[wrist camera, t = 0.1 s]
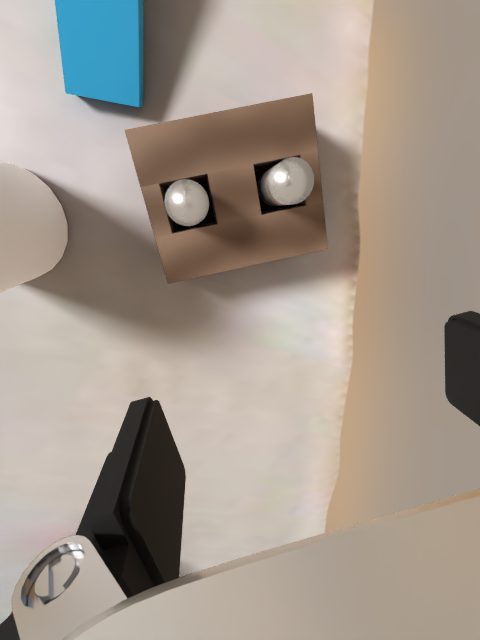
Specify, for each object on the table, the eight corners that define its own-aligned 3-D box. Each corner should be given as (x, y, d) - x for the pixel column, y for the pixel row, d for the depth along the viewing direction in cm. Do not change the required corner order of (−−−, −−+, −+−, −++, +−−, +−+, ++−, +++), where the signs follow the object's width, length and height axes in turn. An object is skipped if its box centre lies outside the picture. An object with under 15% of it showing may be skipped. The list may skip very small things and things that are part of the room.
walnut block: (139, 145, 34) (124, 130, 28) (291, 115, 35) (312, 93, 28) (173, 271, 39) (167, 283, 32) (306, 242, 40) (327, 249, 33)
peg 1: (168, 190, 32) (159, 184, 25) (203, 182, 32) (203, 175, 25) (177, 226, 33) (171, 230, 26) (211, 219, 33) (213, 221, 27)
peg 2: (255, 172, 32) (268, 161, 26) (289, 165, 32) (311, 153, 26) (261, 208, 33) (275, 208, 27) (294, 201, 33) (316, 199, 27)
